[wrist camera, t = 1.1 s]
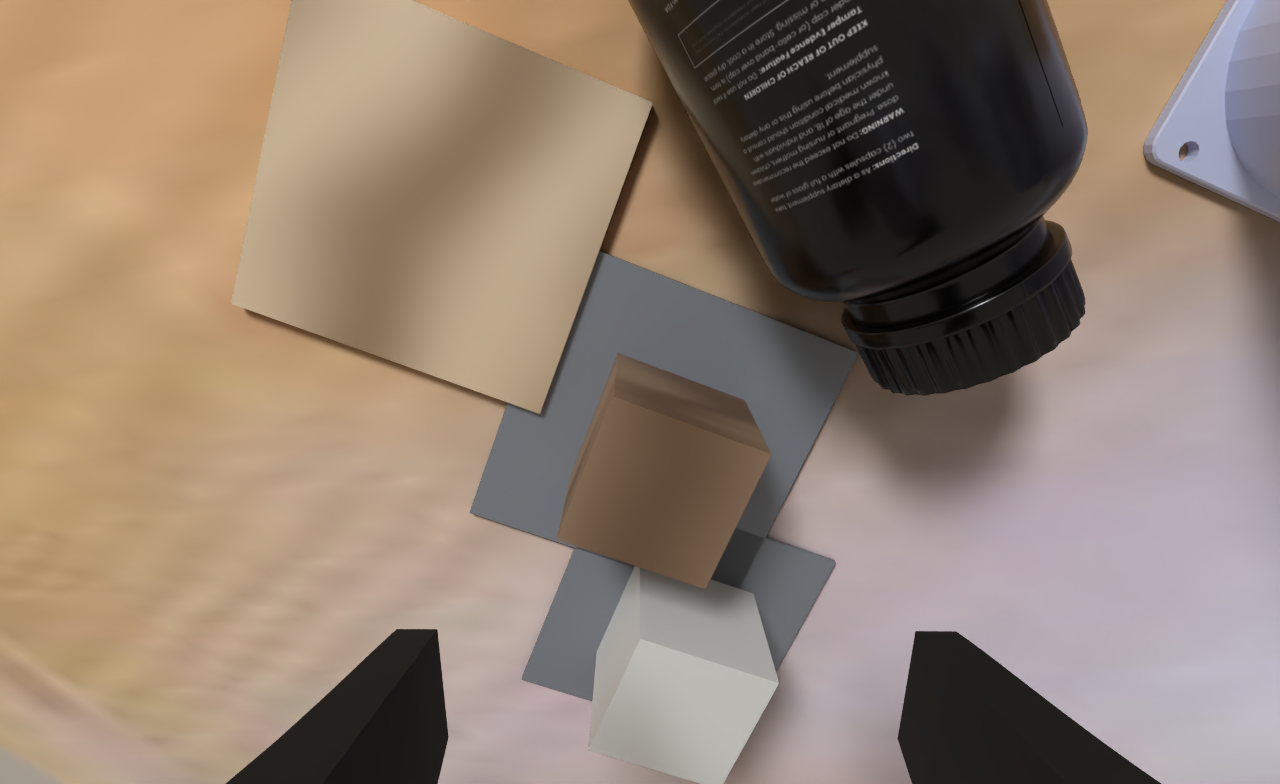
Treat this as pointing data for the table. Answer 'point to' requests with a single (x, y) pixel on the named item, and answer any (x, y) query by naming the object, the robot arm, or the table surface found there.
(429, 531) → the table surface
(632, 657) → the grey block
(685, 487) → the walnut block
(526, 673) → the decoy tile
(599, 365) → the tile
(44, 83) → the table surface
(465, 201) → the pad
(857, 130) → the supplement bottle
